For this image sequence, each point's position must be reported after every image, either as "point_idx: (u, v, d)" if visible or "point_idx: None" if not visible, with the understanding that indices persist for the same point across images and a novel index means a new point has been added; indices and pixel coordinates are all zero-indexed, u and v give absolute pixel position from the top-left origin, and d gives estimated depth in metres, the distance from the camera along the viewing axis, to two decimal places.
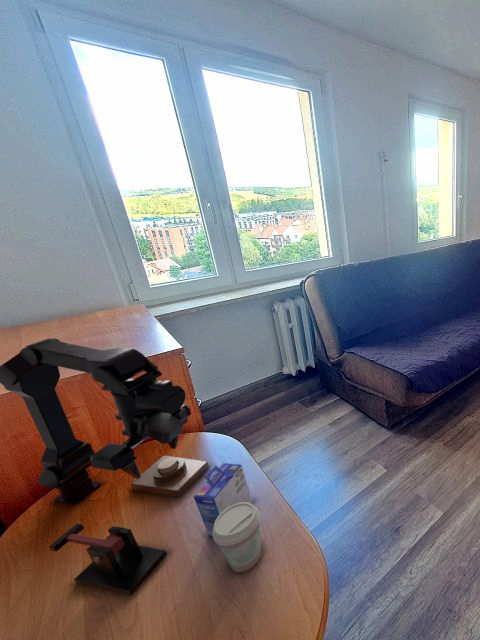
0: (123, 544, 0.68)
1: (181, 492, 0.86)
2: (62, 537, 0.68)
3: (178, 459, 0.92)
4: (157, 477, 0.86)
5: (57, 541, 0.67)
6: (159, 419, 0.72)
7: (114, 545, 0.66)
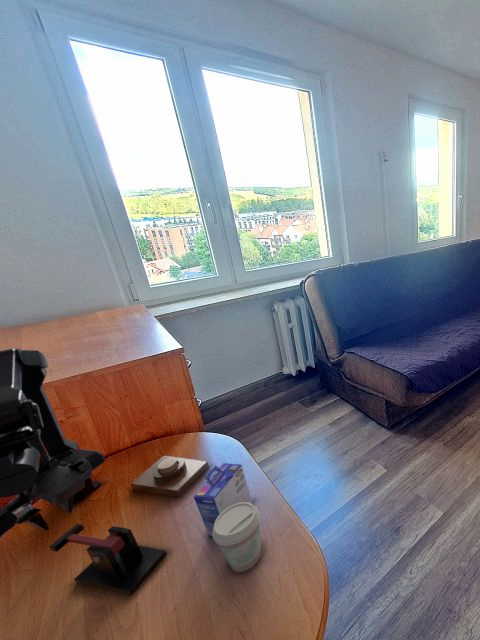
0: (123, 543, 0.68)
1: (181, 492, 0.86)
2: (62, 538, 0.68)
3: (178, 459, 0.92)
4: (157, 477, 0.86)
5: (57, 541, 0.67)
6: (53, 475, 0.62)
7: (114, 545, 0.66)
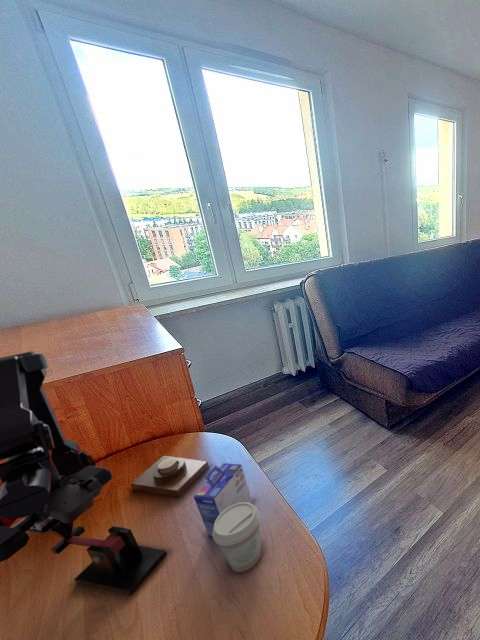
0: (123, 543, 0.68)
1: (181, 492, 0.86)
2: (64, 540, 0.68)
3: (178, 459, 0.92)
4: (157, 477, 0.86)
5: (58, 544, 0.67)
6: (63, 494, 0.63)
7: (114, 545, 0.66)
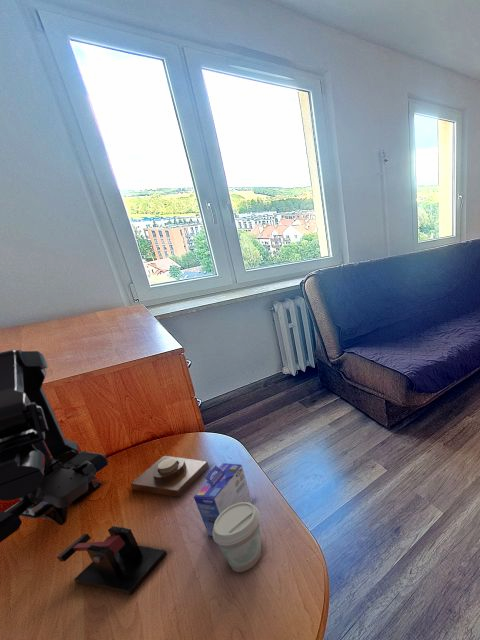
0: (123, 542, 0.67)
1: (181, 492, 0.86)
2: (69, 547, 0.69)
3: (178, 459, 0.92)
4: (157, 477, 0.86)
5: (64, 551, 0.68)
6: (57, 478, 0.62)
7: (112, 544, 0.66)
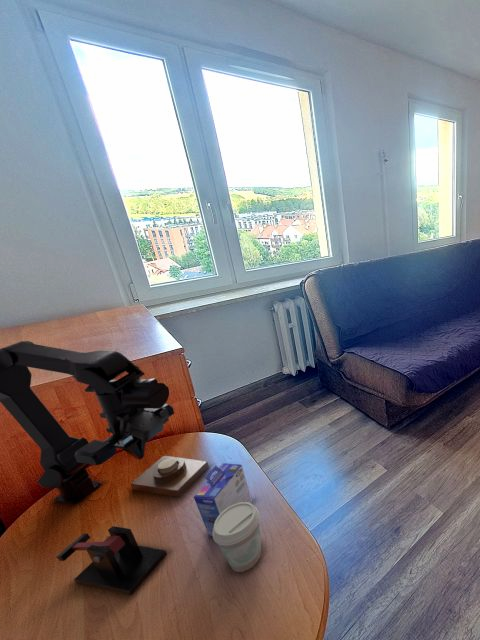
0: (123, 542, 0.67)
1: (181, 492, 0.86)
2: (68, 547, 0.69)
3: (178, 459, 0.92)
4: (157, 477, 0.86)
5: (64, 551, 0.68)
6: (141, 418, 0.76)
7: (112, 544, 0.66)
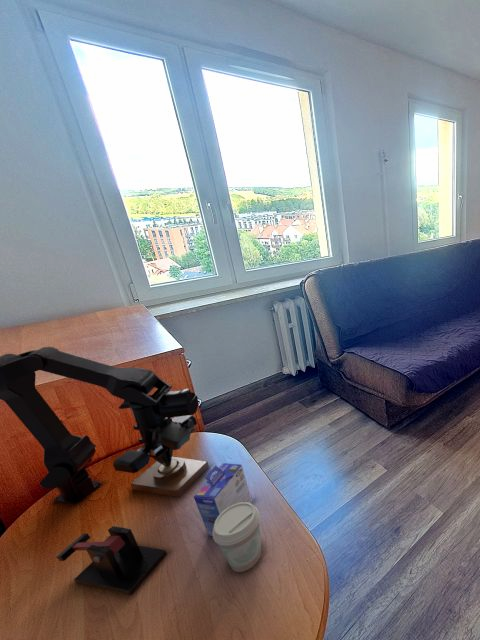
0: (123, 542, 0.67)
1: (181, 492, 0.86)
2: (68, 547, 0.69)
3: (178, 459, 0.92)
4: (157, 477, 0.86)
5: (64, 551, 0.68)
6: (170, 429, 0.84)
7: (112, 544, 0.66)
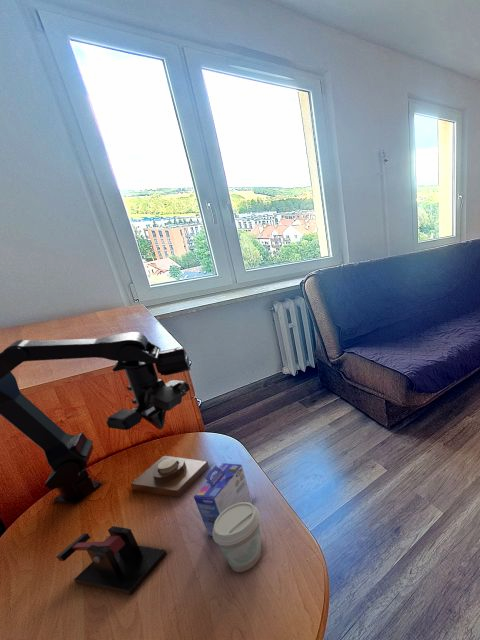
0: (123, 542, 0.67)
1: (181, 492, 0.86)
2: (68, 547, 0.69)
3: (178, 459, 0.92)
4: (157, 477, 0.86)
5: (64, 551, 0.68)
6: (162, 391, 0.87)
7: (112, 544, 0.66)
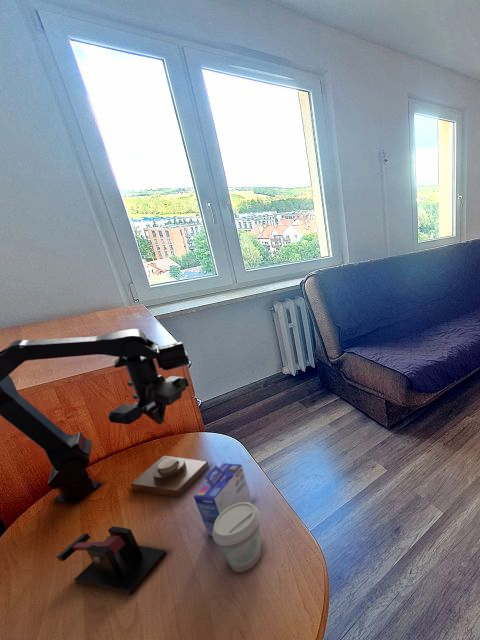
0: (123, 542, 0.67)
1: (181, 492, 0.86)
2: (68, 547, 0.69)
3: (178, 459, 0.92)
4: (157, 477, 0.86)
5: (64, 551, 0.68)
6: (162, 386, 0.89)
7: (112, 544, 0.66)
